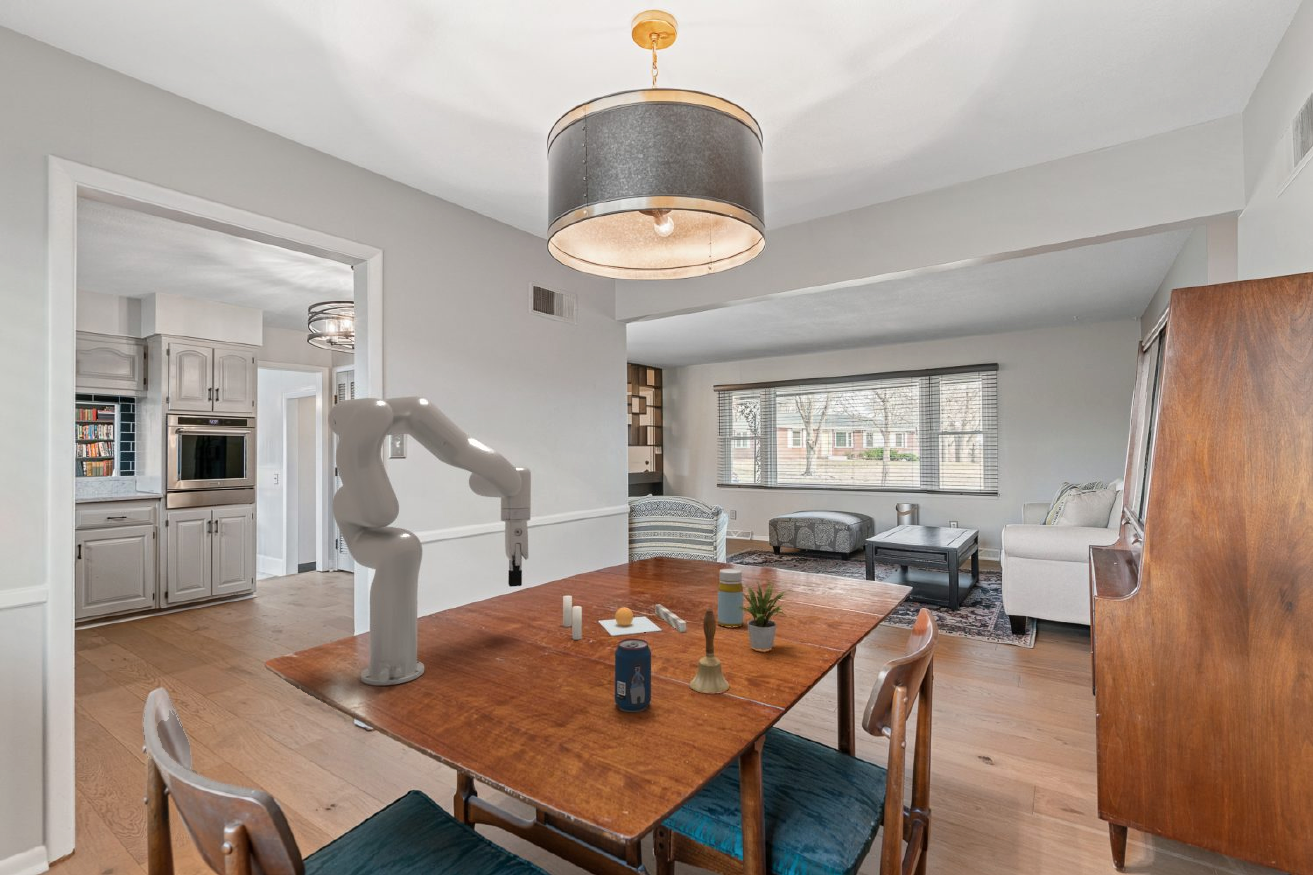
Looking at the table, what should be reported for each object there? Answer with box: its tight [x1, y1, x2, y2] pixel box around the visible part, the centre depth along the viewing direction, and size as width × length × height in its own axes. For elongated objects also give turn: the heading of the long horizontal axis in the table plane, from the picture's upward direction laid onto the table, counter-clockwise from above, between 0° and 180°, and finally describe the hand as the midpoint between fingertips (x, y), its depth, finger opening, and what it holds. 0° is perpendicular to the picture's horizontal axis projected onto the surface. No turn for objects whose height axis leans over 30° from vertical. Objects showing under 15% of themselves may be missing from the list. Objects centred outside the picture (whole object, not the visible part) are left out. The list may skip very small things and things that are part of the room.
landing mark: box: [597, 616, 663, 637], centre depth 171 cm, size 14×14×1 cm
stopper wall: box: [654, 603, 687, 633], centre depth 175 cm, size 20×2×2 cm, turn 20°
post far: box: [562, 595, 573, 628], centre depth 171 cm, size 2×2×8 cm
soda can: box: [614, 638, 652, 713], centre depth 119 cm, size 7×7×12 cm
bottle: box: [717, 568, 744, 627], centre depth 173 cm, size 7×7×15 cm
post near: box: [571, 605, 583, 641], centre depth 160 cm, size 2×2×8 cm
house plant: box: [737, 581, 792, 650], centre depth 151 cm, size 14×14×16 cm
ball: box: [614, 606, 634, 626], centre depth 171 cm, size 5×5×5 cm
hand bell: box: [689, 608, 730, 694], centre depth 129 cm, size 8×8×16 cm
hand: (515, 585), depth 160 cm, fingers closed
